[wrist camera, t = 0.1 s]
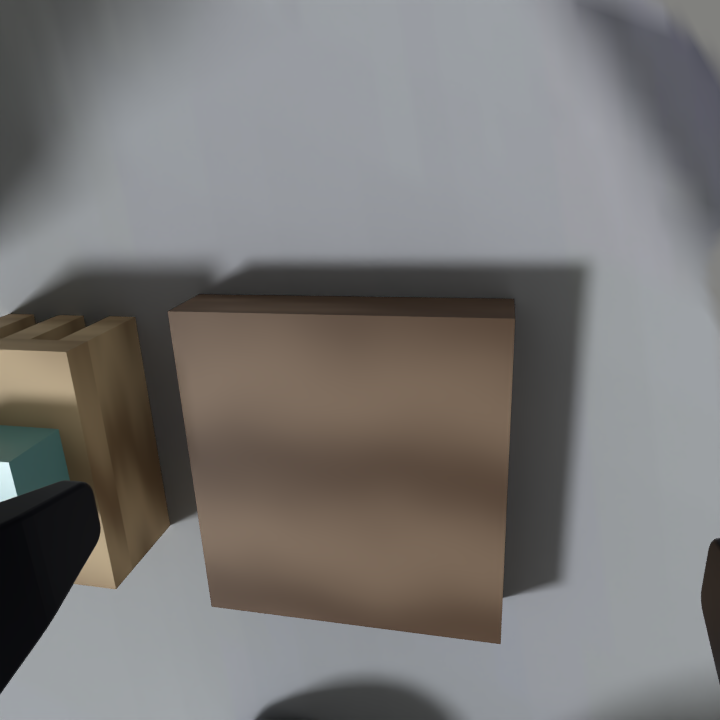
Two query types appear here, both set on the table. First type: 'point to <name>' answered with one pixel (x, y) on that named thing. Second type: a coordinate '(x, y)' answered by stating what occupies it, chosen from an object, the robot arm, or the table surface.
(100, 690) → the table surface
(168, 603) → the table surface
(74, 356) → the pallet
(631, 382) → the table surface
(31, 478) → the teal square block
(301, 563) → the block
